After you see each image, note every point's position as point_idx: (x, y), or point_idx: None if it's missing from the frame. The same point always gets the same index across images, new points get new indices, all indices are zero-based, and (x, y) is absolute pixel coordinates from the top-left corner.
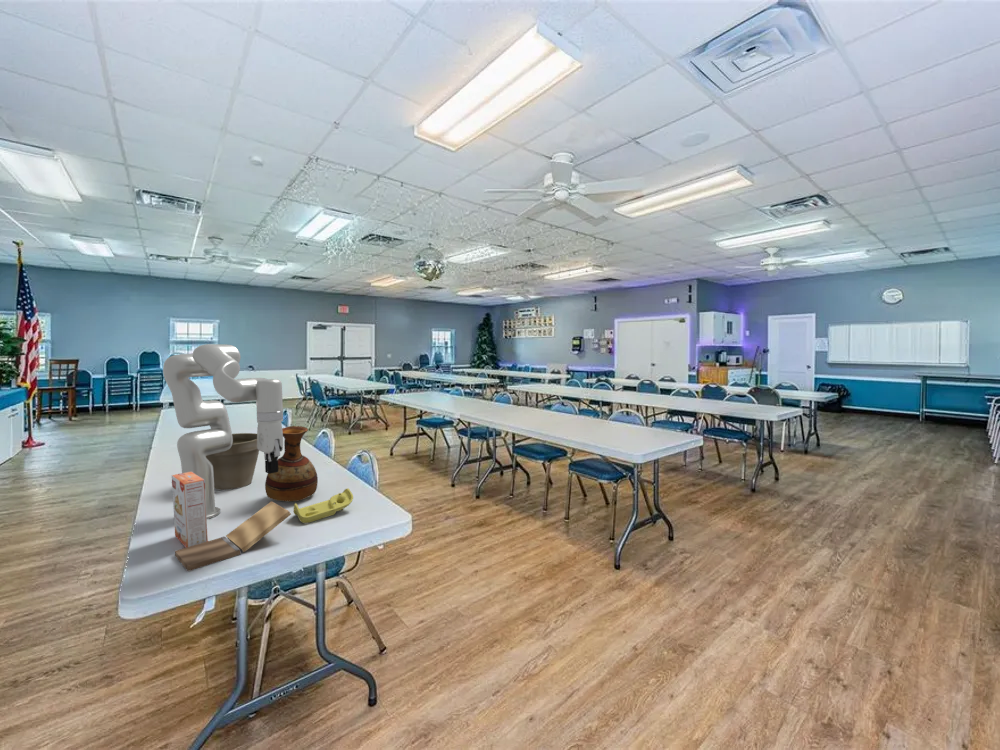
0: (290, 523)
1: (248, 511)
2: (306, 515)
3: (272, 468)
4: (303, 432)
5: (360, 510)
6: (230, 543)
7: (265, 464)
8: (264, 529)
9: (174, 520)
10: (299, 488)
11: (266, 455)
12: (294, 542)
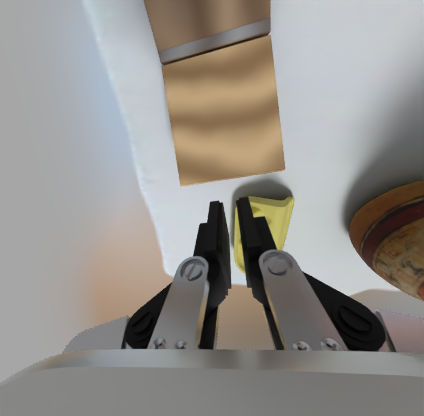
0: (259, 181)
1: (418, 124)
2: (255, 208)
3: (200, 234)
4: None
5: (233, 261)
6: (209, 43)
7: (248, 225)
8: (174, 124)
9: None
10: (363, 236)
11: (268, 300)
12: (170, 167)
